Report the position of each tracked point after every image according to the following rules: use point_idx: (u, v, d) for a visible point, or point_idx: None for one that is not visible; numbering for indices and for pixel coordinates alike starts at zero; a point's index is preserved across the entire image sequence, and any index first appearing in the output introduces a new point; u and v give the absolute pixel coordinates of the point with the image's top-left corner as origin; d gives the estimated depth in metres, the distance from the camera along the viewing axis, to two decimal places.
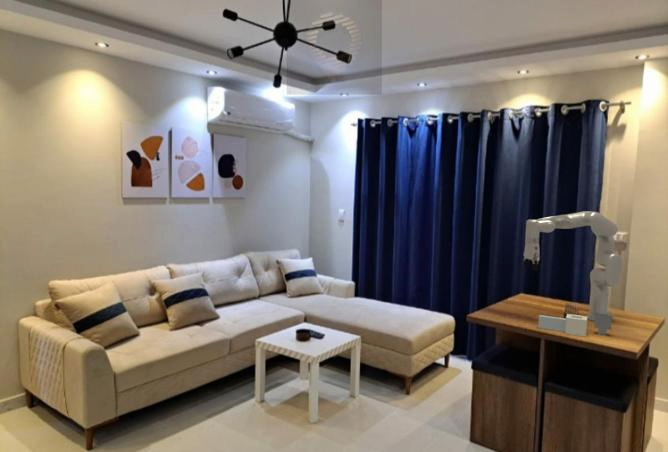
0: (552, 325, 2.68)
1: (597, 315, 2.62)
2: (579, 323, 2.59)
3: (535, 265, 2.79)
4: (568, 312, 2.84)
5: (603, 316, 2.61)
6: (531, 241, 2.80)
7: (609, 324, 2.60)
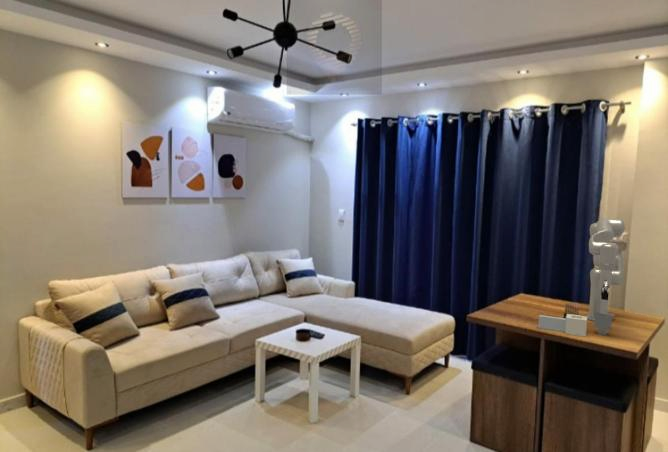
0: (552, 325, 2.68)
1: (597, 315, 2.62)
2: (579, 323, 2.59)
3: None
4: (568, 312, 2.84)
5: (603, 316, 2.61)
6: None
7: (609, 324, 2.60)
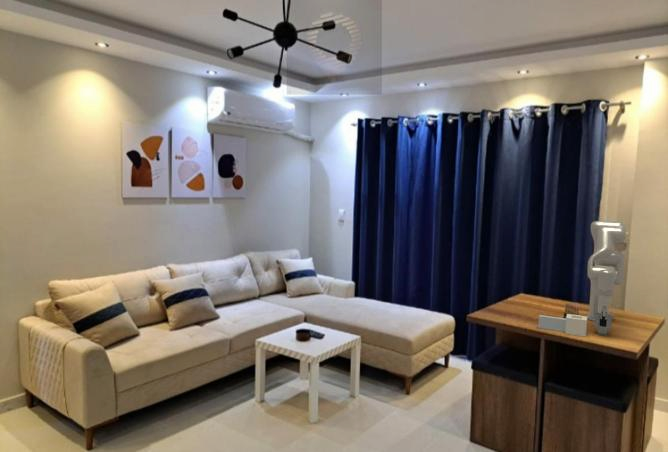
0: (552, 325, 2.68)
1: (597, 315, 2.62)
2: (579, 323, 2.59)
3: None
4: (568, 312, 2.84)
5: None
6: None
7: (609, 324, 2.60)
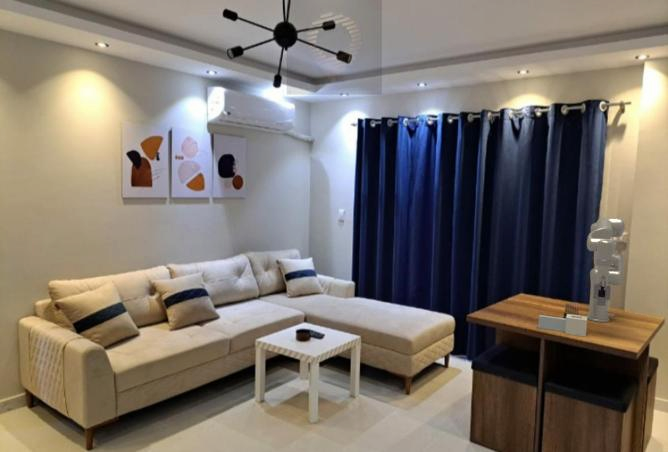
0: (552, 325, 2.68)
1: (596, 286, 2.61)
2: (579, 323, 2.59)
3: None
4: (568, 312, 2.84)
5: None
6: None
7: (608, 294, 2.58)
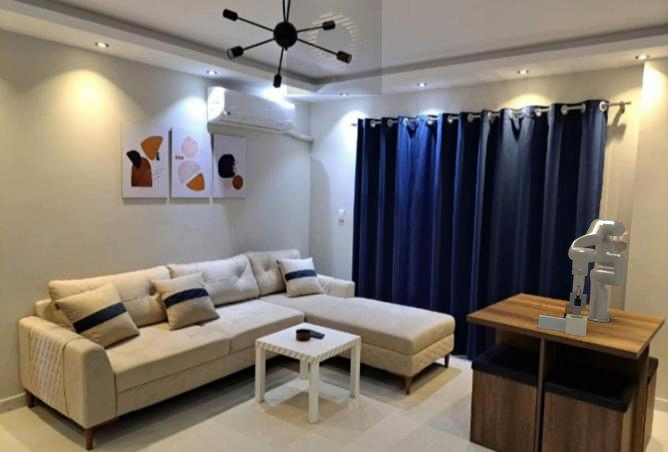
0: (552, 325, 2.68)
1: (572, 295, 2.62)
2: (579, 323, 2.59)
3: None
4: (568, 312, 2.84)
5: None
6: None
7: (584, 303, 2.59)
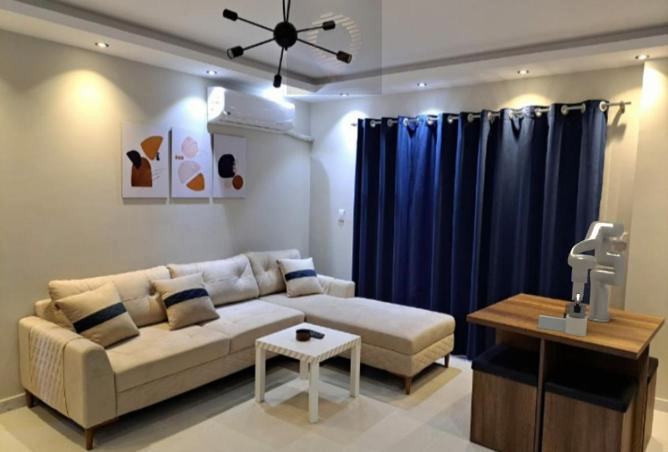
0: (552, 325, 2.68)
1: (571, 304, 2.62)
2: (579, 323, 2.59)
3: None
4: (568, 312, 2.84)
5: None
6: None
7: (583, 313, 2.60)
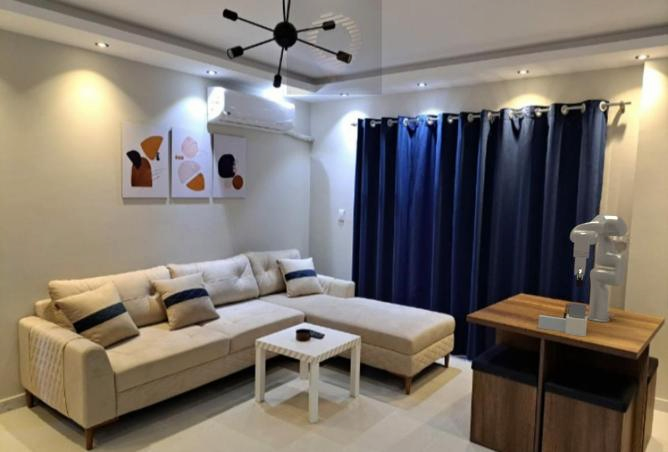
0: (552, 325, 2.68)
1: (571, 304, 2.62)
2: (579, 323, 2.59)
3: None
4: (568, 312, 2.84)
5: (577, 305, 2.61)
6: None
7: (583, 313, 2.60)
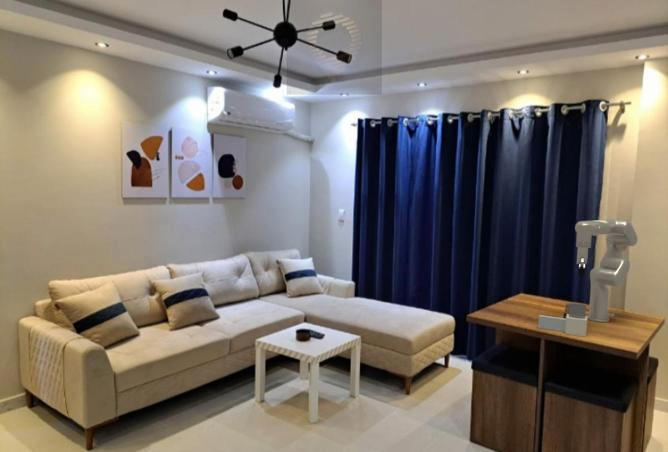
0: (552, 325, 2.68)
1: (571, 304, 2.62)
2: (579, 323, 2.59)
3: None
4: (568, 312, 2.84)
5: (577, 305, 2.61)
6: None
7: (583, 313, 2.60)
